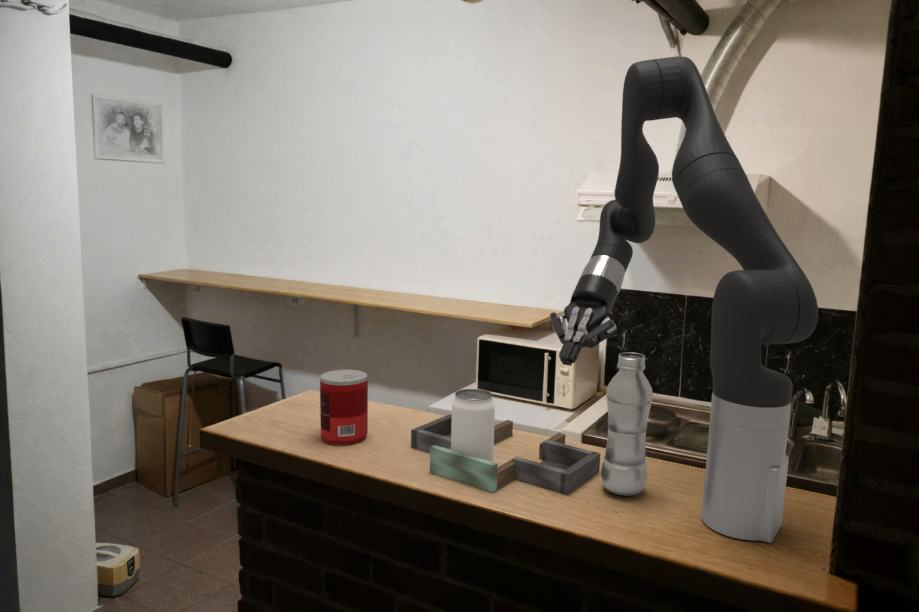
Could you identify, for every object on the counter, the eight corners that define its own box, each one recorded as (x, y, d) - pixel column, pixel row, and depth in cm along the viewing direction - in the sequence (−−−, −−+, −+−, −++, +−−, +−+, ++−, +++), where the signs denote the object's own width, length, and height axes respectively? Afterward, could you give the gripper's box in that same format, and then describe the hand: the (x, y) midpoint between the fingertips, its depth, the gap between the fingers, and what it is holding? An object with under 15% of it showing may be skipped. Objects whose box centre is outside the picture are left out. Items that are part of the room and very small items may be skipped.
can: (466, 481, 102) (468, 402, 100) (442, 466, 107) (443, 391, 105) (501, 472, 106) (504, 396, 104) (476, 458, 111) (478, 385, 109)
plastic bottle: (595, 496, 98) (604, 358, 95) (604, 478, 104) (612, 348, 101) (642, 504, 96) (653, 363, 92) (648, 486, 102) (658, 352, 99)
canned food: (376, 435, 120) (377, 373, 118) (345, 449, 113) (345, 384, 112) (343, 426, 124) (342, 366, 122) (311, 439, 117) (310, 376, 116)
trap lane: (613, 461, 111) (615, 437, 110) (547, 510, 94) (548, 481, 93) (466, 422, 128) (466, 401, 127) (386, 458, 110) (386, 433, 110)
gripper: (560, 269, 130) (524, 344, 121) (628, 275, 122) (594, 355, 114) (572, 295, 135) (538, 369, 127) (638, 302, 127) (606, 380, 119)
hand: (565, 362), depth 120 cm, fingers closed
